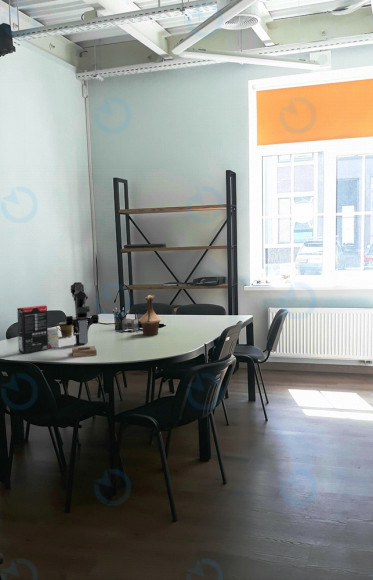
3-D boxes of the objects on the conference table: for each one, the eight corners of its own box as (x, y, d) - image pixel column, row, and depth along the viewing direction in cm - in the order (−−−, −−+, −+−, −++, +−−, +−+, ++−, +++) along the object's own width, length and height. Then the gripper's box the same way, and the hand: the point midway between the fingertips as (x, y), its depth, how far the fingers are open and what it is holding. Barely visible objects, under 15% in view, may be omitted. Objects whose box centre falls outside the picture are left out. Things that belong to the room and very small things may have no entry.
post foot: (72, 352, 294) (71, 347, 293) (94, 351, 297) (94, 346, 297) (73, 357, 281) (73, 351, 281) (96, 355, 285) (96, 349, 284)
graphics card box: (42, 348, 310) (40, 304, 308) (49, 349, 306) (47, 305, 304) (18, 353, 297) (15, 307, 295) (24, 354, 293) (22, 308, 291)
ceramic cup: (76, 335, 356) (75, 321, 356) (71, 338, 346) (70, 323, 346) (58, 335, 358) (57, 321, 357) (53, 338, 348) (52, 324, 347)
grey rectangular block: (79, 341, 290) (78, 319, 289) (87, 341, 291) (86, 319, 290) (80, 343, 286) (79, 320, 285) (87, 342, 287) (87, 320, 286)
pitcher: (161, 336, 344) (160, 295, 341) (137, 336, 344) (135, 296, 342) (163, 332, 361) (162, 293, 359) (140, 332, 362) (138, 294, 359)
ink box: (44, 348, 310) (43, 329, 309) (44, 347, 315) (43, 328, 314) (58, 347, 313) (58, 328, 312) (58, 345, 317) (57, 327, 317)
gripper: (65, 302, 288) (66, 324, 278) (97, 300, 293) (100, 321, 283) (65, 314, 296) (66, 335, 287) (96, 312, 301) (99, 333, 292)
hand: (83, 331), depth 287 cm, fingers closed on grey rectangular block, 4 cm apart
